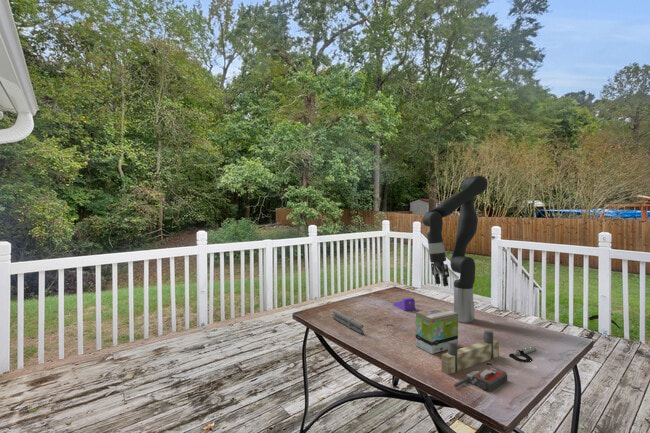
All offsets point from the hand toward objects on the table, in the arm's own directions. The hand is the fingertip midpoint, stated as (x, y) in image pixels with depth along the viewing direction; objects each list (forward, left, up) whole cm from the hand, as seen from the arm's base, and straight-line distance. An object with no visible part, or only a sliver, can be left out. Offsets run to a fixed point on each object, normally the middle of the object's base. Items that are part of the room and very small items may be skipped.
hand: (442, 285), depth 159 cm
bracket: (-4, -33, -21) cm, 39 cm away
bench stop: (+19, +32, -21) cm, 43 cm away
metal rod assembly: (+40, -24, -21) cm, 51 cm away
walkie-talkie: (+28, +43, -21) cm, 56 cm away
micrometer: (-5, +39, -21) cm, 45 cm away
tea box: (+19, +15, -21) cm, 32 cm away
